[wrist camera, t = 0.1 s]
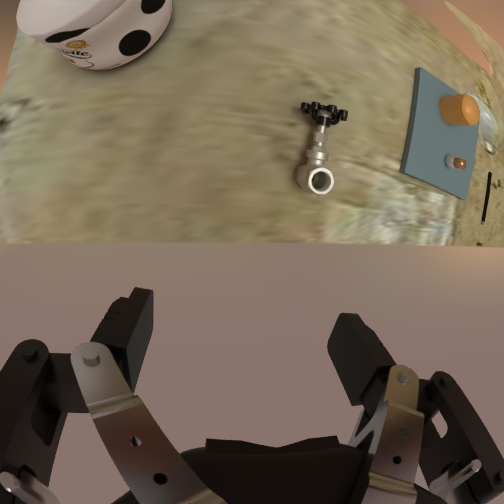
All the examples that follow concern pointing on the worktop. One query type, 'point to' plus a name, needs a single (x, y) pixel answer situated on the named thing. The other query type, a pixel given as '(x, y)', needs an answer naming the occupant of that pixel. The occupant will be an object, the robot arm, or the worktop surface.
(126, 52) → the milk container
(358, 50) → the worktop surface
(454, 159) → the peg
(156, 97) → the worktop surface
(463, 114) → the cap
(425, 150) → the board
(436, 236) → the worktop surface
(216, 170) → the worktop surface
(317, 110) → the valve
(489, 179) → the black thin rod
